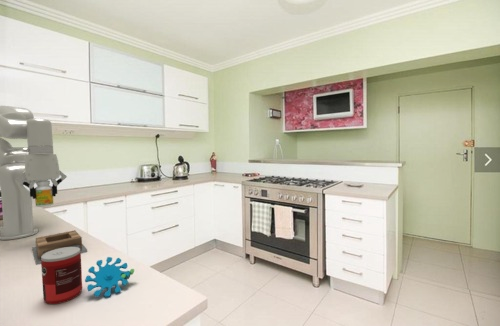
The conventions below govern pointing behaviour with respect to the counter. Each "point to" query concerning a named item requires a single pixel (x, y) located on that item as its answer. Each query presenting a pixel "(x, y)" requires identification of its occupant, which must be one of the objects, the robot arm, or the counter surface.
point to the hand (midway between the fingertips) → (44, 196)
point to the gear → (108, 276)
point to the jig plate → (38, 260)
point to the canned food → (61, 274)
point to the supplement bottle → (43, 194)
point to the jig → (57, 241)
